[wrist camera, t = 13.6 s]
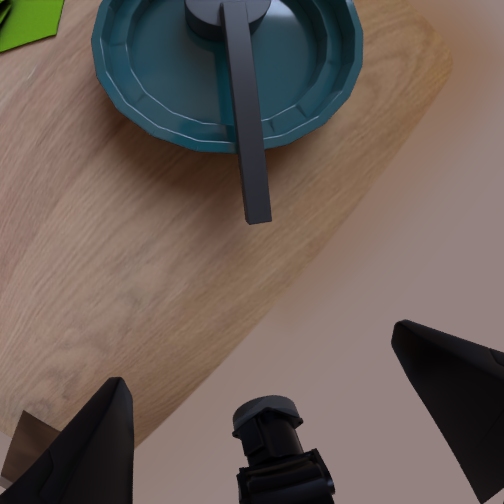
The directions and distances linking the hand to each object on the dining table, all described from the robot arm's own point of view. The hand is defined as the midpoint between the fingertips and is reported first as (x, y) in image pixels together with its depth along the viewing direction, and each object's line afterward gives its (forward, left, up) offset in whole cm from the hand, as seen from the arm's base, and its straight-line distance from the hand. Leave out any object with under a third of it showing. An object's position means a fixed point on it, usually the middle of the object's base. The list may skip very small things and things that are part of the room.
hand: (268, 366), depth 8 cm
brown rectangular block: (+4, +35, -13) cm, 37 cm away
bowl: (+9, -10, -13) cm, 18 cm away
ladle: (+6, -8, -12) cm, 15 cm away
